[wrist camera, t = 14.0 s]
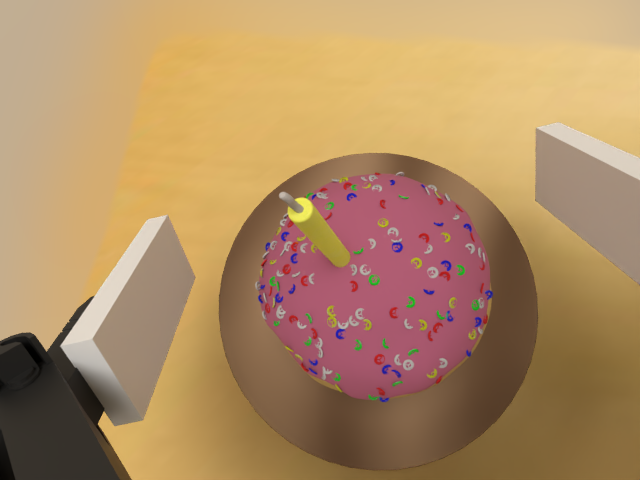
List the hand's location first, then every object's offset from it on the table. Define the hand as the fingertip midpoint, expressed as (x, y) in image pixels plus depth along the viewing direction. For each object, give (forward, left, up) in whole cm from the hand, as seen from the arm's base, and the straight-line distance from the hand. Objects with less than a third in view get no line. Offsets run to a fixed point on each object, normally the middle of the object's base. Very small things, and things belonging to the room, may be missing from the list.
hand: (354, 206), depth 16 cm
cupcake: (-1, +2, -6) cm, 7 cm away
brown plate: (-1, +2, -9) cm, 9 cm away
